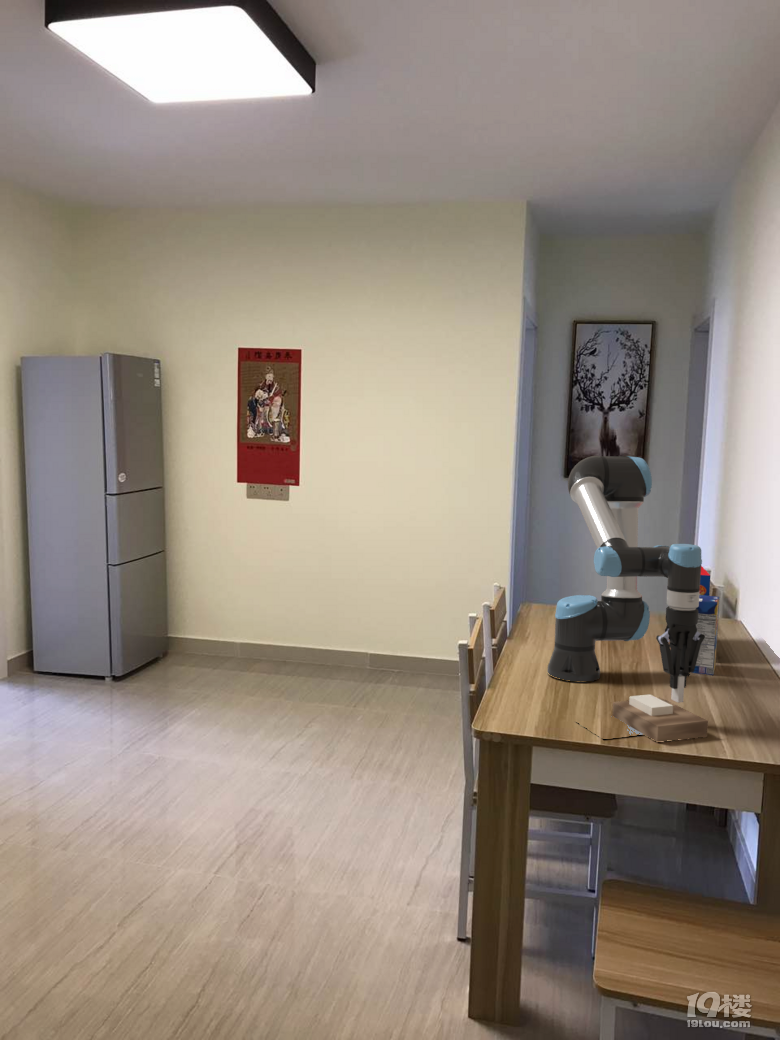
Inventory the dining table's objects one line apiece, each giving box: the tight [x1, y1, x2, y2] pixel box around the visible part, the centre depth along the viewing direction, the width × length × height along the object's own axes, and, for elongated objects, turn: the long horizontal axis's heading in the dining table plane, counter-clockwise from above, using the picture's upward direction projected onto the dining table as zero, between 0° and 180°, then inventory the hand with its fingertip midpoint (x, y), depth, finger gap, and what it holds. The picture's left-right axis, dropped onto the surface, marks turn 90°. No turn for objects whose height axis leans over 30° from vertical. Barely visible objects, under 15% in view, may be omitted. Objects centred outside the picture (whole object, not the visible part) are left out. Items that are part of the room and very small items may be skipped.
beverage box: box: [689, 595, 720, 676], centre depth 252 cm, size 7×11×22 cm, turn 156°
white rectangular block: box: [628, 693, 673, 716], centre depth 203 cm, size 9×6×2 cm, turn 19°
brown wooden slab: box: [612, 696, 709, 741], centre depth 202 cm, size 18×14×4 cm
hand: (677, 700), depth 206 cm, fingers closed
